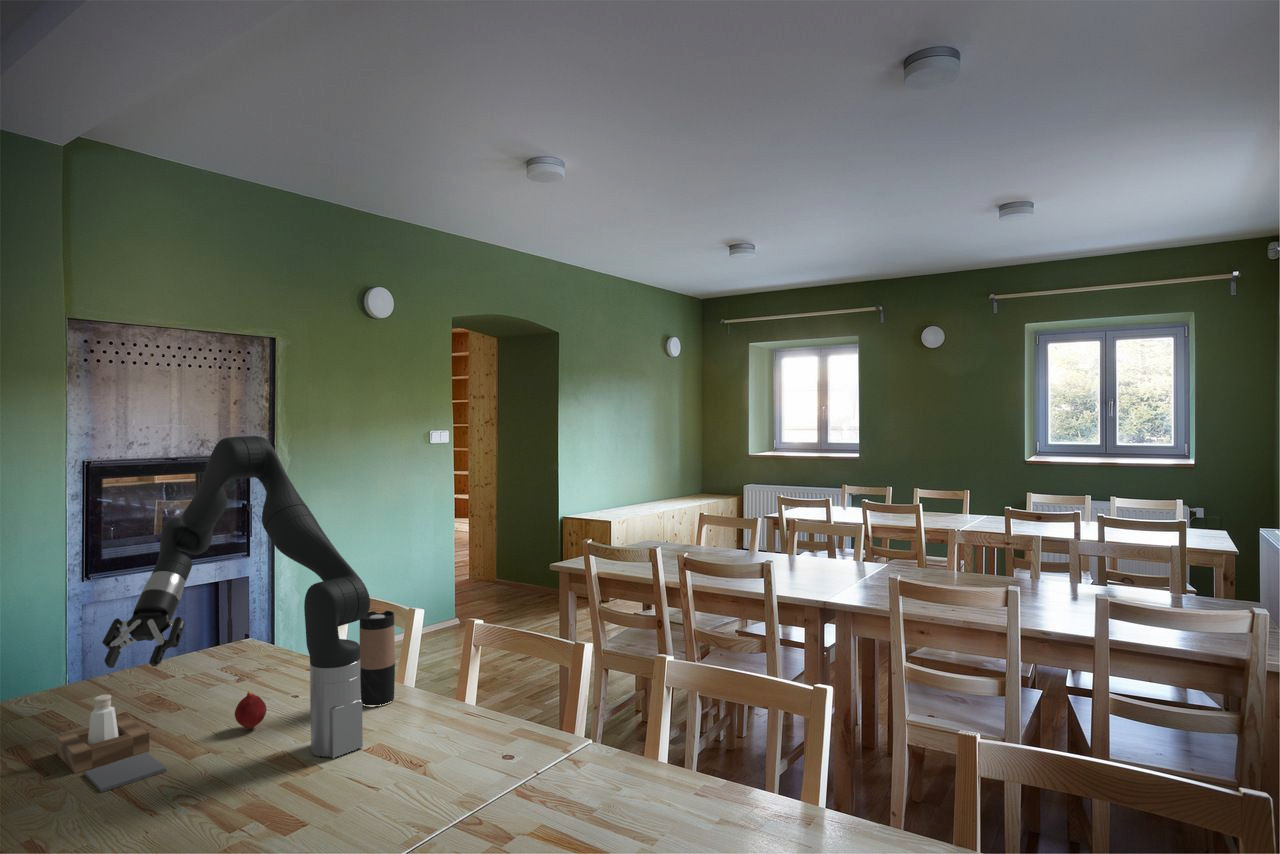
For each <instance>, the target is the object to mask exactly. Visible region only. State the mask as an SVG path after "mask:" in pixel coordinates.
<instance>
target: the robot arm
mask: <svg viewBox="0 0 1280 854" xmlns="http://www.w3.org/2000/svg"><path fill="white" fill-rule="evenodd" d="M253 478H255V479H258V480H259V482H260V483H261V484H262V486H263V487H264V488H263V489H264V490H265V492H266V493H265V500H264V503H263V507H262V512H261V524H262V526H263V529H264V531H265V532H266V534H267V535H268V537H269V539H270V540H271V542H272V543H273V545H274V547H275V548H276V549H277V551H279V552H280V553H281V554H283V555H285V557H287V558H289V559H291V560H293V561H294V562H296V563H298V564H299V565H301V566H303V567H305V568H307V569H308V570H311V571H312V572H314V574H315V575H317V576H318V577H319V578H320V579H321V580H322V581H318V582H316V583H313V584H312V585H310V586H309V587H308V589H307V591H306V592H305V596H304V606H303V610H304V624H305V641H306V642H305V643H306V649H307V652H308V655H309V689H310V690H309V693H310V694H309V695H310V696H309V697H310V698H309V699H310V701H309V702H310V704H309V705H310V706H309V707H310V708H309V709H310V711H309V712H310V713H309V715H310V716H309V717H310V753H311V754H312V753H313V754H312V755H314V756H317V757H320V756H322V758H331V757H332V758H331V759H336V758H335V757H337V756H339V757H341V756H340V755H342V756H344V755H343V754H345V753H347V754H349V753H348V752H350V753H352V752H351V751H353V752H355V751H357V750H356V749H358V748H361V747H363V745H364V744H363V741H364V740H363V732H364V731H363V729H364V728H363V705H362V701H361V684H360V643H359V642H357V641H354V640H351V639H345V638H340V634H339V627H341V626H345V625H348V624H352V623H355V622H357V621H360V619H362V618H364V617H365V616H366V615H367V614H368V612H370V609H371V597H370V594H369V591H368V589H367V587H366V584H365V583H364V582H363V580H362V579H361V577H360V576H359V575H358V573H357V572H356V571H355V570H354V569H353V568H352V567H351V565H350V564H349V563H348V562H347V561H346V559H344V558H343V556H342V555H341V553H339V551H338V550H337V549H336V547H335V546H334V544H333V543H332V542H331V540H330V539H329V538H328V535H326V534H325V532H324V530H323V529H322V527H321V526H320V524H319V522H318V521H317V519H316V517H315V516H314V514H313V513H312V512H311V510H310V508H309V507H308V506H307V504H306V503H305V502H304V500H303V499H302V497H301V496H300V494H299V492H298V491H297V489H296V488H295V486H294V484H293V483H292V481H291V480H290V478H289V476H288V474H287V472H286V471H285V469H284V466H283V464H282V462H281V460H280V458H279V457H278V454H277V453H276V450H275V448H274V446H273V445H272V444H271V442H270V441H269V440H268V439H267V438H265V437H263V436H259V435H246V436H230V437H224V438H221V439H220V440H219V441H218V442H217V443H216V444H215V446H214V448H213V450H212V452H211V454H210V457H209V459H208V462H207V464H206V467H205V469H204V473H203V475H202V479H201V482H200V484H199V487H198V489H197V492H195V495H194V496H193V498H192V500H191V501H190V503H189V504H188V505H187V507H185V510H184V512H183V513H182V517H173V518H171V519H169V520H168V521H166V522H165V524H164V525H163V527H162V529H161V533H160V538H159V539H160V540H159V541H160V542H159V552H158V553H159V554H158V558H157V561H156V564H155V565H154V568H153V570H152V572H151V574H150V577H149V578H148V579H147V581H146V583H145V585H144V586H143V589H142V591H141V594H140V596H139V597H138V600H137V603H136V605H135V606H134V609H133V614H132V616H131V618H130V619H129V620H121V619H120V618H114V619H113V621H112V624H111V625H110V626H109V629H108V630H107V632H106V634H105V636H104V638H103V640H102V642H101V643H102V644H103V646H104V647H106V648H107V650H108V651H107V654H106V656H105V659H104V663H105V665H106V667H107V668H108V669H114V668H115V666H116V663H117V661H118V659H119V656H120V655H121V651H122V650H123V649H125V648H126V647H127V646H130V645H132V644H133V643H135V642H141V641H142V642H143V641H148V642H149V641H150V642H151V641H153V640H156V643H157V645H155V647H154V650H153V651H152V654H151V657H150V659H149V662H148V663H149V665H150V666H151V667H154V668H155V667H158V665H159V664H161V662H162V661H163V657H164V656H165V654H166V651H167V650H168V649H170V648H177V647H178V646H179V644H180V641H181V637H182V635H183V632H184V628H185V625H186V623H185V622H184V620H183V619H182V618H181V617H180V616H177V617H175V618H174V615H175V612H176V611H177V608H178V605H179V603H180V600H181V599H182V597H183V592H184V589H185V585H186V582H187V580H188V577H189V575H190V572H191V571H192V567H193V561H192V559H191V558H190V557H189V556H188V555H186V554H185V553H187V554H190V555H193V556H194V555H196V556H197V555H201V554H203V553H205V552H206V551H207V550H208V549H209V548H210V545H211V544H212V540H213V534H214V527H215V525H216V524H217V522H218V521H219V519H220V518H221V516H222V515H223V514H224V512H225V510H226V508H227V505H228V497H227V493H226V491H225V489H224V485H226V483H227V482H229V481H230V480H242V479H253ZM183 552H185V553H183ZM173 618H174V619H173ZM169 628H171V630H170V633H169V635H168V637H167V638H168V639H166V637H165V635H164V634H163V633H164V632H165V631H167V630H168V629H169ZM128 636H130V637H128ZM361 749H362V748H361ZM354 750H355V751H354ZM358 750H359V749H358ZM345 755H346V754H345ZM324 756H326V757H324ZM328 756H329V757H328ZM337 758H338V757H337Z"/></svg>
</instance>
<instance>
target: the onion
mask: <svg viewBox="0 0 1280 854" xmlns="http://www.w3.org/2000/svg"><path fill="white" fill-rule="evenodd" d="M266 712H267V705H266V703H265V701H264V700H263V699H262V698H261V697H260V696H259V695H256V694H254V693H253V692H252V691H251V690H248V691H247V693H246V696H245V697H243V698H242V699H241V700H240V701H239V702H238V703H237V705H236V707H235V709H234V718H235V721H236V722H237V724H238V725H240V726H241V727H243V728H245V729H246V730H249V729H250V730H253V729H254V728H255V727H257V726H258V725H259V724H260V723H262V721H263V720H264V718H265V716H266Z"/></svg>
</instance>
